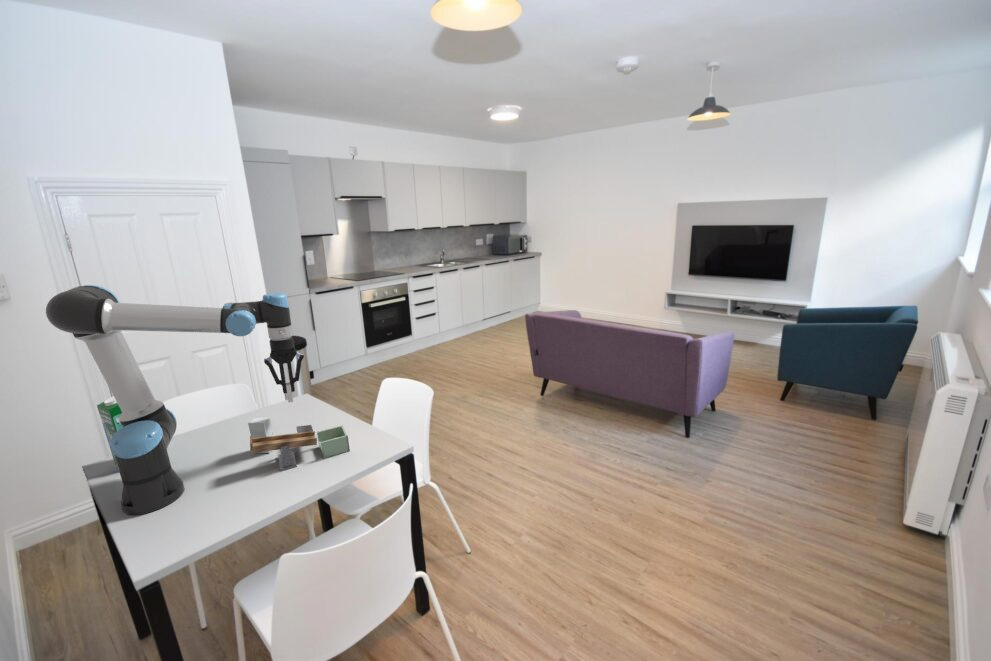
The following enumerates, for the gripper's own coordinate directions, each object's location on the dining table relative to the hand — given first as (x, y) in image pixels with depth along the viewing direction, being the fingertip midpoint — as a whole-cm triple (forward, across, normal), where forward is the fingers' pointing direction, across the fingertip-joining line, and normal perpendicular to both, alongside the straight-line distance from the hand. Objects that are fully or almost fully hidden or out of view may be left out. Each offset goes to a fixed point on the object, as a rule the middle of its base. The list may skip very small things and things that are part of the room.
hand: (290, 400), depth 156 cm
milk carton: (+19, -51, +19) cm, 58 cm away
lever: (+11, -4, -7) cm, 14 cm away
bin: (+17, +12, -12) cm, 24 cm away
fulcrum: (+17, -4, -12) cm, 21 cm away
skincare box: (+18, -10, +2) cm, 21 cm away
